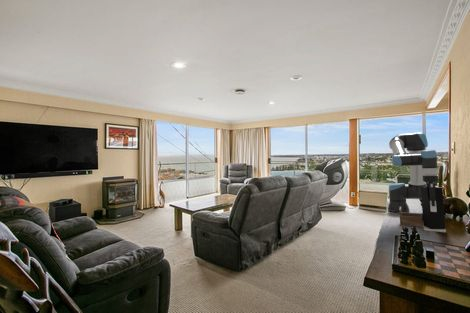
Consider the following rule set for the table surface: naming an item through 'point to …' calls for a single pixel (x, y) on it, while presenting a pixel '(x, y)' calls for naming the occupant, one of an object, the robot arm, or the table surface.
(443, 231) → the felt mat
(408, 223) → the book bay
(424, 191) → the black tall block
